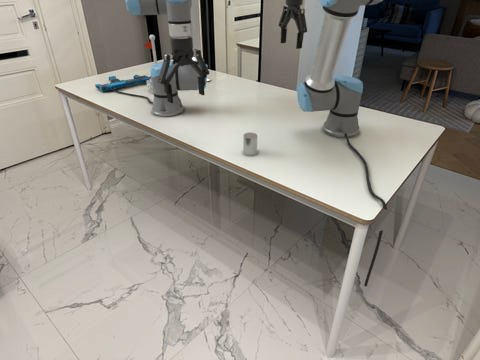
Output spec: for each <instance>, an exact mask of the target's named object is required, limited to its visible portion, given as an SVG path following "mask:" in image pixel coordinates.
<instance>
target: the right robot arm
mask: <svg viewBox="0 0 480 360" xmlns="http://www.w3.org/2000/svg"><path fill="white" fill-rule="evenodd" d="M383 1H384V0H319V2H320V4H321V6H322V11H323V13H324V14H325V15H324V17H323V21H322V26H321V30H320V34H319V38H318V41H317V46H316V50H315V54H314V58H313V62H312V66H311V71H310V73H308V74H307V75H306V76H305V78H304V82H300V83H298V85H297V88H296V97H297V102H298V106H299V108H300V109H301V111H303V112H305V113H308V112H309V113H314V112H324V111H329V112H328V115H327V117H326V120H325V121H324V123H323V126H322V130H323V132H324V133H325V134H326V135H329V136H332V137H335V138H339V139H341V138H342V139H345V140H346V143H347V145H348V147H349V148H350V149H351V150H352V151H353V152H354V153H355V154H356V156H358V157H359V159H360V160H361V162H362V163H363V166H364V170H365V176H366V184H367V188H368V192H369V193H370V195H371V196H372V197H373V198H375V199H376V200H378V201H379V202H380V203H381V205H382V207H383V209H384V210H387V209H388V207H387V204H386V201H385V200H384V199H383V198H382V197H380V196H378V195H377V194H375V192H374V190H373V189H372V185H371V179H370V172H369V167H368V164H367V161H366V159H365V158H364V157H363V155H361V153H360V152H359V151H358V150H357V149H356V148H355V147H354V146H353V145H352V143H351V142H350V140H349V138H354V137H356V136H357V135H359V132H360V125H359V118H358V117H359V116H358V114H359V111H360V110H359V109H360V105H361V100H362V95H363V90H364V83H363V81H362V80H360V79H359V78H356V77H353V76H348V75H340V74H339V75H336V76H335V77H334V74H335V71H336V68H337V65H338V63H339V59H340V55H341V52H342V49H343V45H344V42H345V40H346V36H347V33H348V30H349V27H350V23H351V20H352V19H353V18H355V17H356V16H357V15H358V13H359V10H360V8H361V6H362V7H363V6H372V5H377V4H379V3H381V2H383ZM303 3H304V0H285V5H283V7H282V13H281V16H280V19H279V22H278V27H279V28H280V44H285V43H287V33H288V25H289V23H290V22H291V19H292V20H294V22H295V25H296V28H297V31H298V32H297V34H296V35H297V36H296V45H295V48H296V50H299V49H300V50H301V49H303V43H304V35H305V33H308V27H307V26H308V25H307V20H306V15H305V14H306V13H305V12H306V9H305V8H301V6H302V5H303ZM333 77H334V78H333ZM383 232H384V230H383V229H382V230H380V231H378V236H377V241H376V244H375V248H374V252H373V255H372V258H371V262H370V264H369V268H368V271H367V274H366V278H365V281H364V284H363V286H364V287H367V286H368V284H369V280H370V277H371V274H372V271H373V268H374V265H375V261H376V259H377V255H378V252H379V248H380V244H381V241H382V237H383Z"/></svg>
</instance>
